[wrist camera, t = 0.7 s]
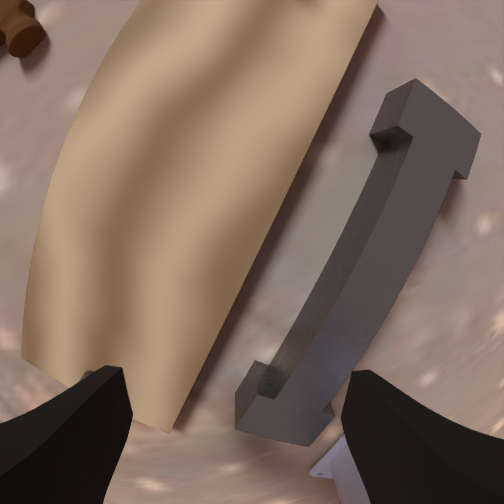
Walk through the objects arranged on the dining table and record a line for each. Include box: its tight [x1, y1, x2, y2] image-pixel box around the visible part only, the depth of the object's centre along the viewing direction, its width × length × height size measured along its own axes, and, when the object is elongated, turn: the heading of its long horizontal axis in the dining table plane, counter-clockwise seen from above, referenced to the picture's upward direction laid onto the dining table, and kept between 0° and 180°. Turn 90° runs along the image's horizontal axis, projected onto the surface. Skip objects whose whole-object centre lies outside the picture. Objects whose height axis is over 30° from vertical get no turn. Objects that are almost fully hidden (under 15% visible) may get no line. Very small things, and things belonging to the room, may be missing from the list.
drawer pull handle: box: [235, 78, 481, 447], centre depth 16 cm, size 5×21×4 cm, turn 155°
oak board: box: [21, 0, 378, 434], centre depth 13 cm, size 12×32×4 cm, turn 155°
